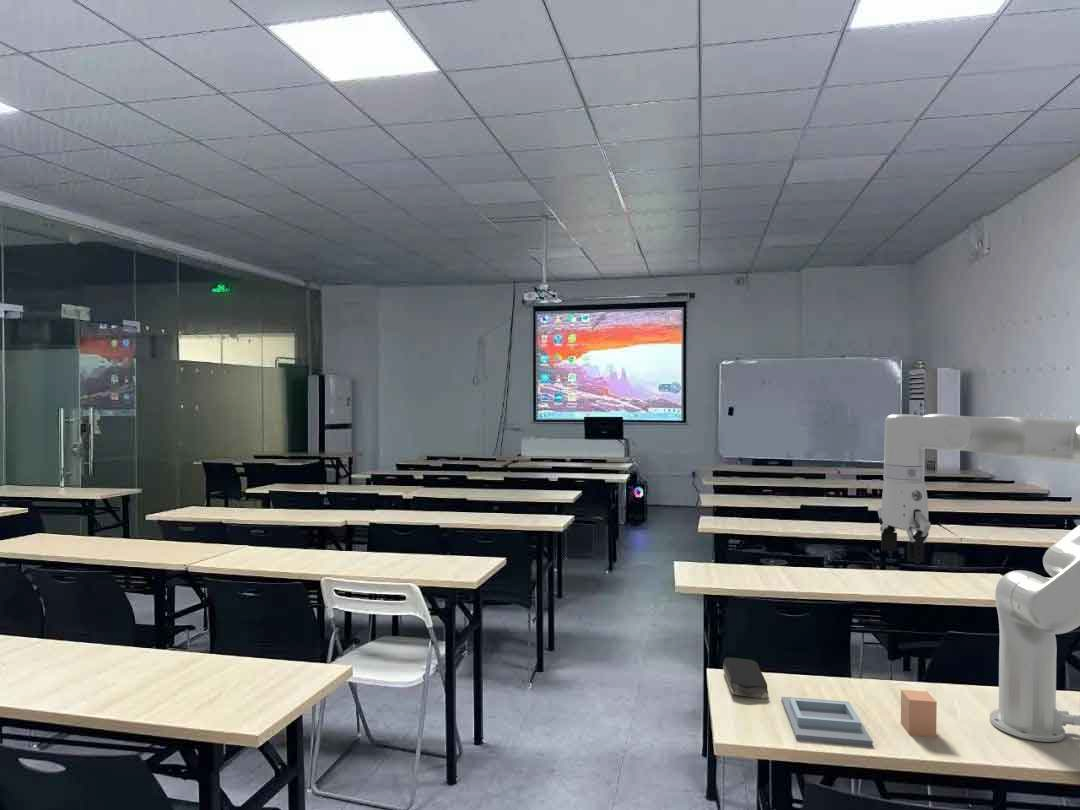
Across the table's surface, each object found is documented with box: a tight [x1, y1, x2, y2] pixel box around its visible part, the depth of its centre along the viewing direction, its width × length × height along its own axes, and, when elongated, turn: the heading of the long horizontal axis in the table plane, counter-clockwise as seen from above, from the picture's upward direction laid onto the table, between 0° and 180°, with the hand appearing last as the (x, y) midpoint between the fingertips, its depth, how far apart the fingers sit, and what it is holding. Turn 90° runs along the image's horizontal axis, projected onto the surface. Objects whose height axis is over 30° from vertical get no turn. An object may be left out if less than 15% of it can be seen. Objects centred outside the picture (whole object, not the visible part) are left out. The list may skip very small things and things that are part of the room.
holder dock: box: [780, 696, 874, 747], centre depth 145 cm, size 14×18×2 cm
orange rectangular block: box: [900, 689, 938, 738], centre depth 142 cm, size 5×5×7 cm
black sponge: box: [722, 657, 769, 699], centre depth 164 cm, size 16×8×4 cm, turn 173°
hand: (901, 556), depth 146 cm, fingers open, 9 cm apart
